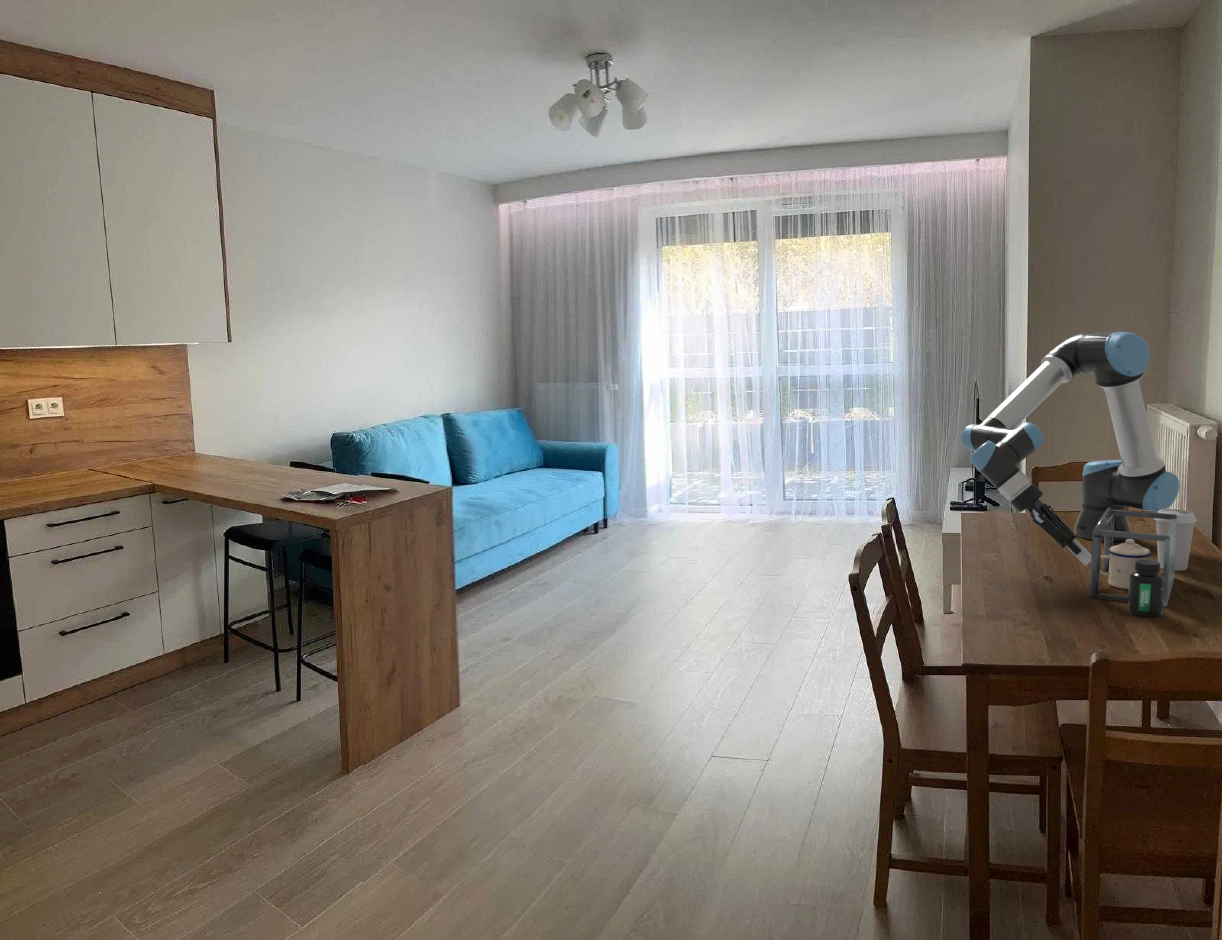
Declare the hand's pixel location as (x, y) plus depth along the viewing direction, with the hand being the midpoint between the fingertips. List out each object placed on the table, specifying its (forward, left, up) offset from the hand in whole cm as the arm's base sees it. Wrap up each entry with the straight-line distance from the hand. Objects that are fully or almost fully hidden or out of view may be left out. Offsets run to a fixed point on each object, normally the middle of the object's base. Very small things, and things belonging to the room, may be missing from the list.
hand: (1089, 562), depth 228 cm
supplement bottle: (+20, +14, -6) cm, 25 cm away
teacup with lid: (-2, +7, -6) cm, 9 cm away
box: (-1, +10, -5) cm, 11 cm away
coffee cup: (-25, +17, -6) cm, 30 cm away
